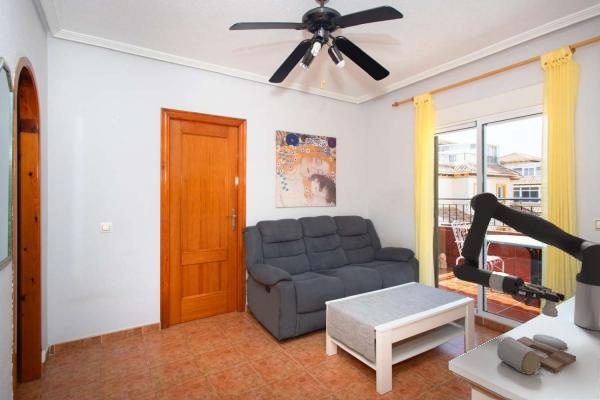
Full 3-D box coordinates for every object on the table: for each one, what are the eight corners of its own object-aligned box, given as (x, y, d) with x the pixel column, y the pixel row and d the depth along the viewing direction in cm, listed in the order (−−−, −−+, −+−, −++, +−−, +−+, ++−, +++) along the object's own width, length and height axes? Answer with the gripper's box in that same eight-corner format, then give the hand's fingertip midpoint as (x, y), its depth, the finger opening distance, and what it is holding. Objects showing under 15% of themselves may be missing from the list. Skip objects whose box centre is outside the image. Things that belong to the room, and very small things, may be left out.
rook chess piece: (538, 313, 104) (540, 290, 104) (546, 311, 106) (547, 289, 105) (553, 318, 100) (555, 295, 99) (561, 316, 102) (562, 293, 101)
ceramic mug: (523, 378, 82) (524, 351, 82) (495, 362, 90) (497, 337, 90) (549, 372, 86) (550, 346, 86) (520, 357, 94) (521, 333, 93)
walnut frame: (524, 340, 104) (524, 336, 104) (575, 360, 92) (576, 356, 92) (502, 349, 98) (502, 345, 98) (555, 372, 85) (555, 368, 85)
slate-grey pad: (540, 334, 109) (540, 332, 109) (571, 345, 101) (571, 343, 101) (528, 339, 105) (528, 337, 105) (559, 352, 97) (560, 349, 97)
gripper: (496, 276, 111) (552, 290, 96) (516, 272, 118) (571, 285, 103) (495, 295, 112) (551, 313, 97) (515, 290, 118) (570, 306, 103)
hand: (561, 298), depth 100 cm, fingers closed on rook chess piece, 3 cm apart
